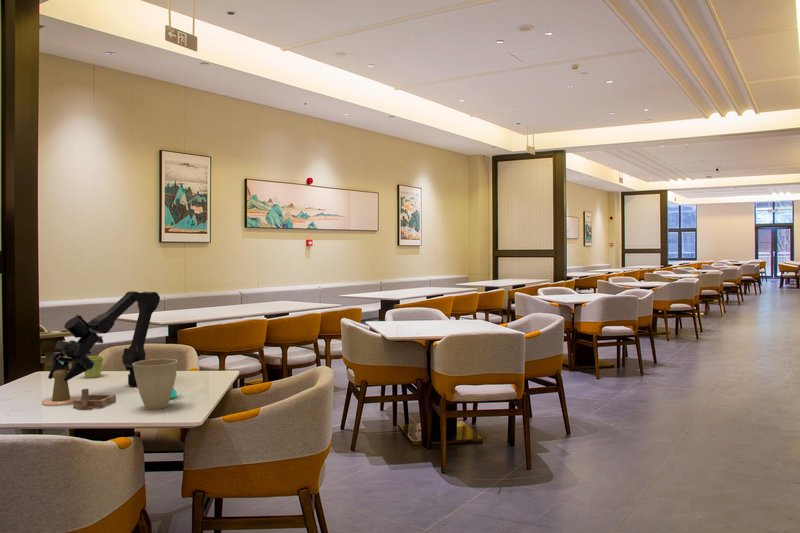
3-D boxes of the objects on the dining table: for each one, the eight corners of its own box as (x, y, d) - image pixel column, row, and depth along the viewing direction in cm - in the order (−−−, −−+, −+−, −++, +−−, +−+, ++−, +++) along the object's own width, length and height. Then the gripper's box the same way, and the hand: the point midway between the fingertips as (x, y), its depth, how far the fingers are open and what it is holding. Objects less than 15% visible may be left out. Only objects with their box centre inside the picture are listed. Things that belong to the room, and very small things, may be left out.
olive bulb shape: (56, 402, 226) (55, 372, 226) (48, 400, 230) (48, 370, 229) (73, 399, 231) (73, 369, 230) (65, 397, 234) (65, 367, 234)
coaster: (78, 397, 238) (78, 395, 238) (79, 403, 227) (79, 401, 227) (42, 400, 233) (42, 398, 232) (41, 407, 222) (41, 405, 222)
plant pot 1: (98, 378, 274) (97, 359, 274) (76, 379, 274) (76, 359, 274) (108, 374, 284) (108, 355, 283) (87, 375, 284) (87, 355, 284)
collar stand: (88, 401, 231) (88, 382, 231) (115, 401, 230) (115, 382, 230) (69, 409, 218) (69, 389, 218) (98, 409, 218) (98, 389, 218)
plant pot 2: (164, 400, 232) (163, 357, 232) (186, 405, 223) (186, 361, 223) (125, 407, 221) (124, 362, 221) (146, 414, 211) (146, 367, 211)
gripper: (54, 330, 238) (25, 364, 228) (85, 333, 229) (57, 368, 219) (74, 348, 245) (47, 382, 235) (105, 352, 236) (78, 386, 226)
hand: (56, 379), depth 229 cm, fingers open, 9 cm apart
